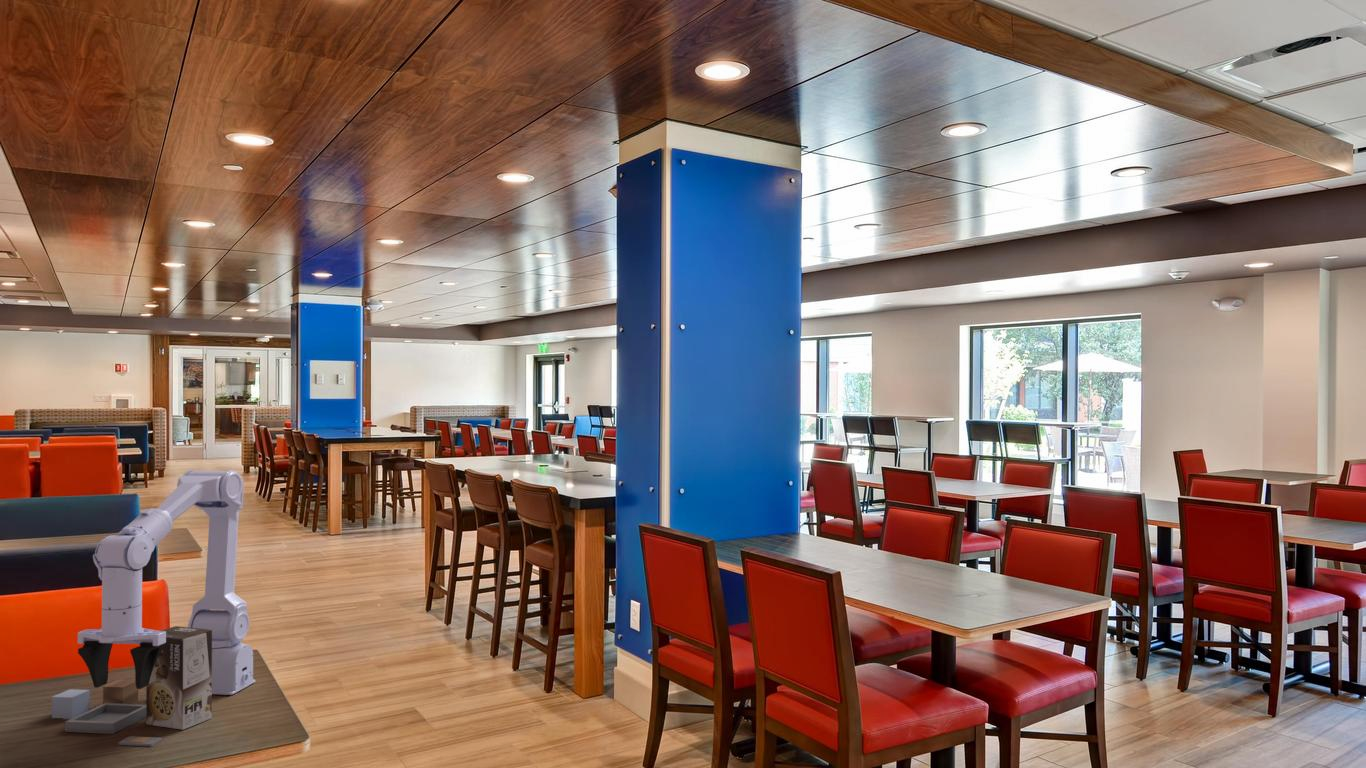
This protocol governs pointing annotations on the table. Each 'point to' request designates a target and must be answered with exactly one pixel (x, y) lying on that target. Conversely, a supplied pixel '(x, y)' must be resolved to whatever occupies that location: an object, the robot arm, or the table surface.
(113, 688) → the walnut block
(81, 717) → the parts tray
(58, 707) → the slate block
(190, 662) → the coffee box
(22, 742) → the table surface
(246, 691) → the table surface
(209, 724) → the table surface
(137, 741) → the label tile
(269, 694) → the table surface
